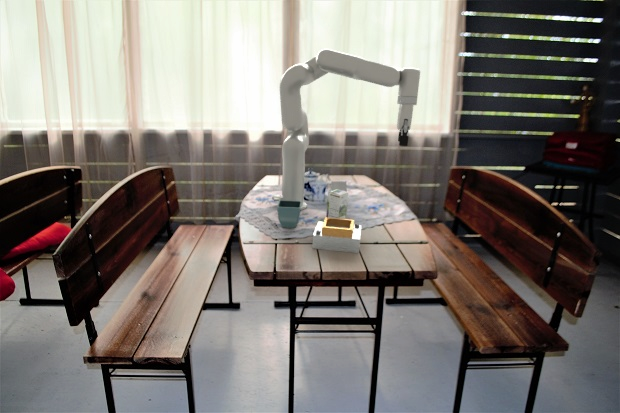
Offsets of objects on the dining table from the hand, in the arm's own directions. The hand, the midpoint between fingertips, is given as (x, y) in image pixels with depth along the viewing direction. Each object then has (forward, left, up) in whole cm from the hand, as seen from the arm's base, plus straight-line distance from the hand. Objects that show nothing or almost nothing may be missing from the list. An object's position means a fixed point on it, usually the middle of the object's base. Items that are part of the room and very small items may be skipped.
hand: (402, 143), depth 183 cm
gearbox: (-21, -37, -31) cm, 53 cm away
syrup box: (-23, -21, -31) cm, 44 cm away
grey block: (-25, +12, -31) cm, 42 cm away
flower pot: (-41, -24, -31) cm, 57 cm away
